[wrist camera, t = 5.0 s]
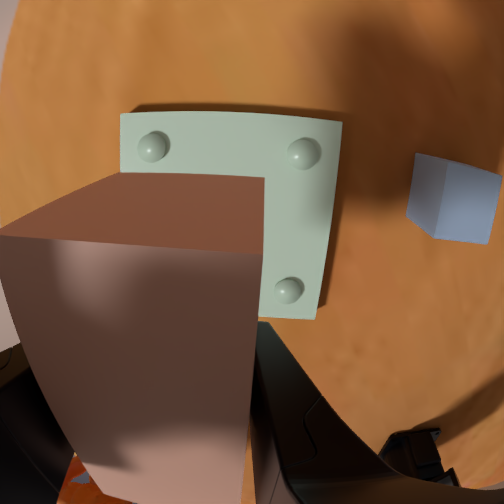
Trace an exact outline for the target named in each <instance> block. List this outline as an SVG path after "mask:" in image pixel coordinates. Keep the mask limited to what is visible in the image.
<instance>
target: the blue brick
mask: <svg viewBox="0 0 504 504" xmlns="http://www.w3.org/2000/svg"><path fill="white" fill-rule="evenodd" d="M501 181H502V176H501V175H498V174H495V173H492V172H490V171H487V170H483V169H480V168H477V167H474V166H471V165H468V164H464V163H460V162H456V161H452V160H448V159H443V158H439V157H434V156H430V155H425V154H420V153H415V161H414V168H413V175H412V182H411V188H410V194H409V200H408V206H407V211H406V217H407V218H409V219H410V220H411V221H413V222H414V223H415V224H416V225H418V226H419V227H420V228H421V229H423V230H424V231H425V232H426V233H428V234H429V235H430V236H431V237H433V238H436V239H445V240H453V241H462V242H471V243H479V244H488V241H489V237H490V233H491V229H492V225H493V221H494V216H495V212H496V207H497V202H498V197H499V192H500V186H501Z"/></svg>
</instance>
